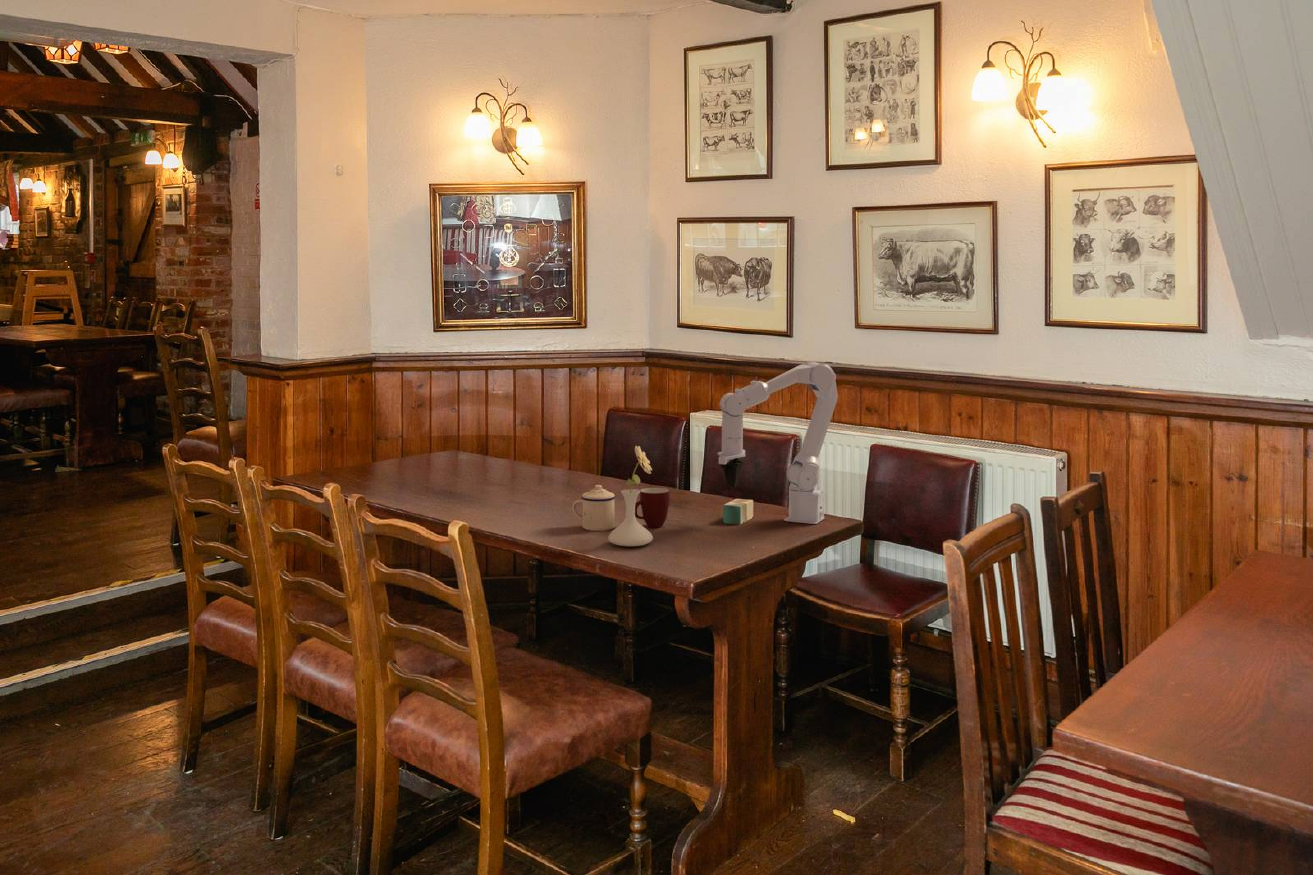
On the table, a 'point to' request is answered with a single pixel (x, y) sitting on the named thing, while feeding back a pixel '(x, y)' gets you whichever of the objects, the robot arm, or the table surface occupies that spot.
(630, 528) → the flower in vase
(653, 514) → the mug
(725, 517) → the birch block
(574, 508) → the teacup with lid
